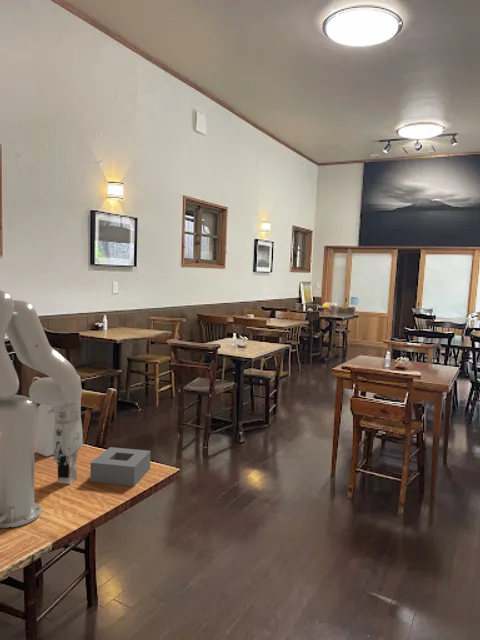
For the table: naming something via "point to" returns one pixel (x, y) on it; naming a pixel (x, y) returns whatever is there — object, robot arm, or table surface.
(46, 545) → the table surface
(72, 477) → the peg
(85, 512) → the table surface
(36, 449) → the milk carton
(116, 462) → the socket block
